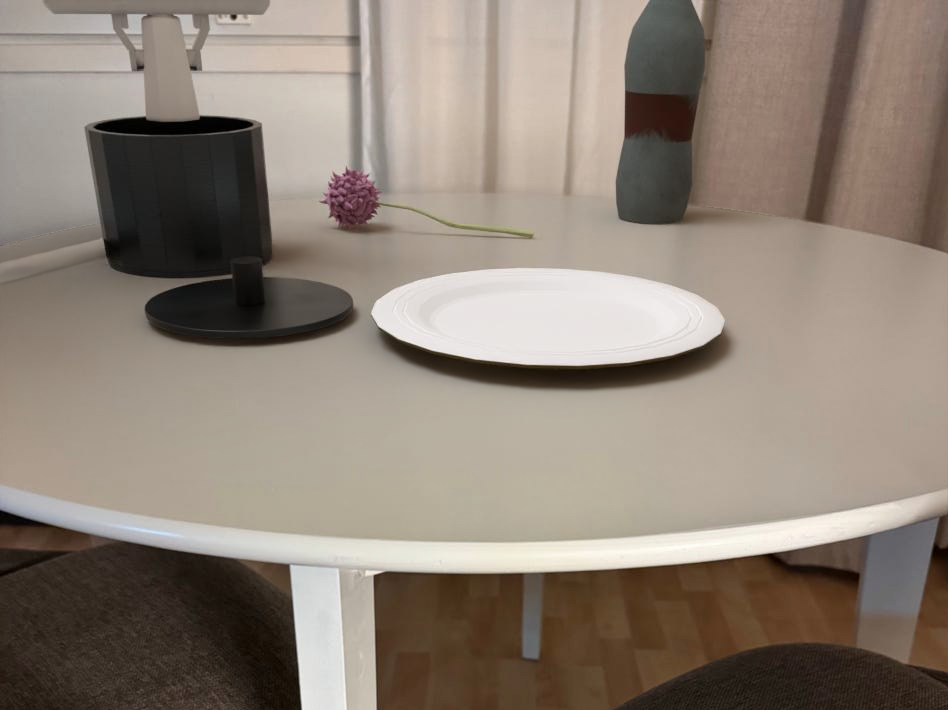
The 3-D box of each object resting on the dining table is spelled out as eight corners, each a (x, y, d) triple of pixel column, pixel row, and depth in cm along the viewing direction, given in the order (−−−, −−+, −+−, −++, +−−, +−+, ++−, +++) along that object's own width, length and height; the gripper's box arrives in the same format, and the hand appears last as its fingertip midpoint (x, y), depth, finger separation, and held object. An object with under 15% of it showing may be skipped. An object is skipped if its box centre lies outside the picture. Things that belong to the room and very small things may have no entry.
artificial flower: (533, 254, 125) (328, 211, 127) (543, 194, 121) (330, 151, 122) (524, 277, 120) (311, 232, 122) (534, 216, 116) (312, 170, 117)
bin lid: (101, 325, 89) (91, 267, 86) (237, 281, 102) (231, 229, 100) (269, 359, 82) (263, 296, 79) (392, 306, 95) (390, 252, 93)
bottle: (654, 228, 126) (683, -78, 110) (597, 216, 131) (617, -76, 115) (703, 218, 131) (738, -75, 115) (646, 207, 137) (671, -73, 121)
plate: (620, 277, 105) (621, 257, 104) (795, 365, 82) (799, 340, 81) (332, 302, 96) (331, 280, 95) (439, 408, 73) (439, 381, 72)
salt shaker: (189, 122, 100) (172, -14, 94) (134, 120, 101) (115, -15, 95) (210, 116, 105) (195, -15, 99) (158, 114, 106) (140, -16, 100)
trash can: (72, 264, 107) (47, 127, 100) (185, 234, 119) (169, 111, 113) (199, 285, 100) (181, 141, 94) (305, 252, 113) (295, 122, 106)
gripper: (16, -114, 88) (50, 74, 96) (264, -106, 93) (278, 72, 101) (21, -109, 93) (53, 69, 101) (256, -102, 98) (270, 67, 106)
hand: (167, 70), depth 101 cm, fingers closed on salt shaker, 4 cm apart
